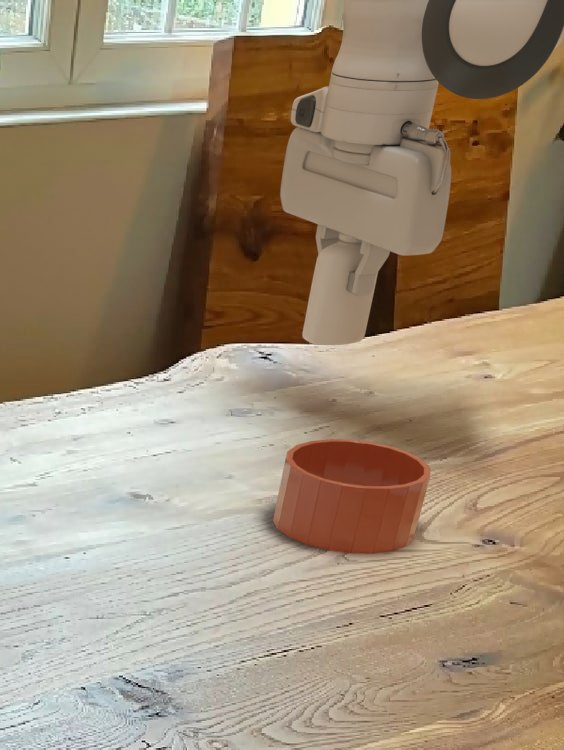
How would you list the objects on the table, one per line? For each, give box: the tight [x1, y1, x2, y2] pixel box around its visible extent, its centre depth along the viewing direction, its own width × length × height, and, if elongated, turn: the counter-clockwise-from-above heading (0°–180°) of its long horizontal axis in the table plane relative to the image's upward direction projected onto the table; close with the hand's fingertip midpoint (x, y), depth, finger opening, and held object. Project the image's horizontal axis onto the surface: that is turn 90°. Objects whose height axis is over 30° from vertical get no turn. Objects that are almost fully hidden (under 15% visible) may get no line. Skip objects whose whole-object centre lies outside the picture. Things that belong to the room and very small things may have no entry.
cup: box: [272, 438, 431, 555], centre depth 114 cm, size 11×11×6 cm
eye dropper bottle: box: [302, 233, 379, 346], centre depth 133 cm, size 4×6×12 cm
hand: (342, 287), depth 134 cm, fingers closed on eye dropper bottle, 3 cm apart
